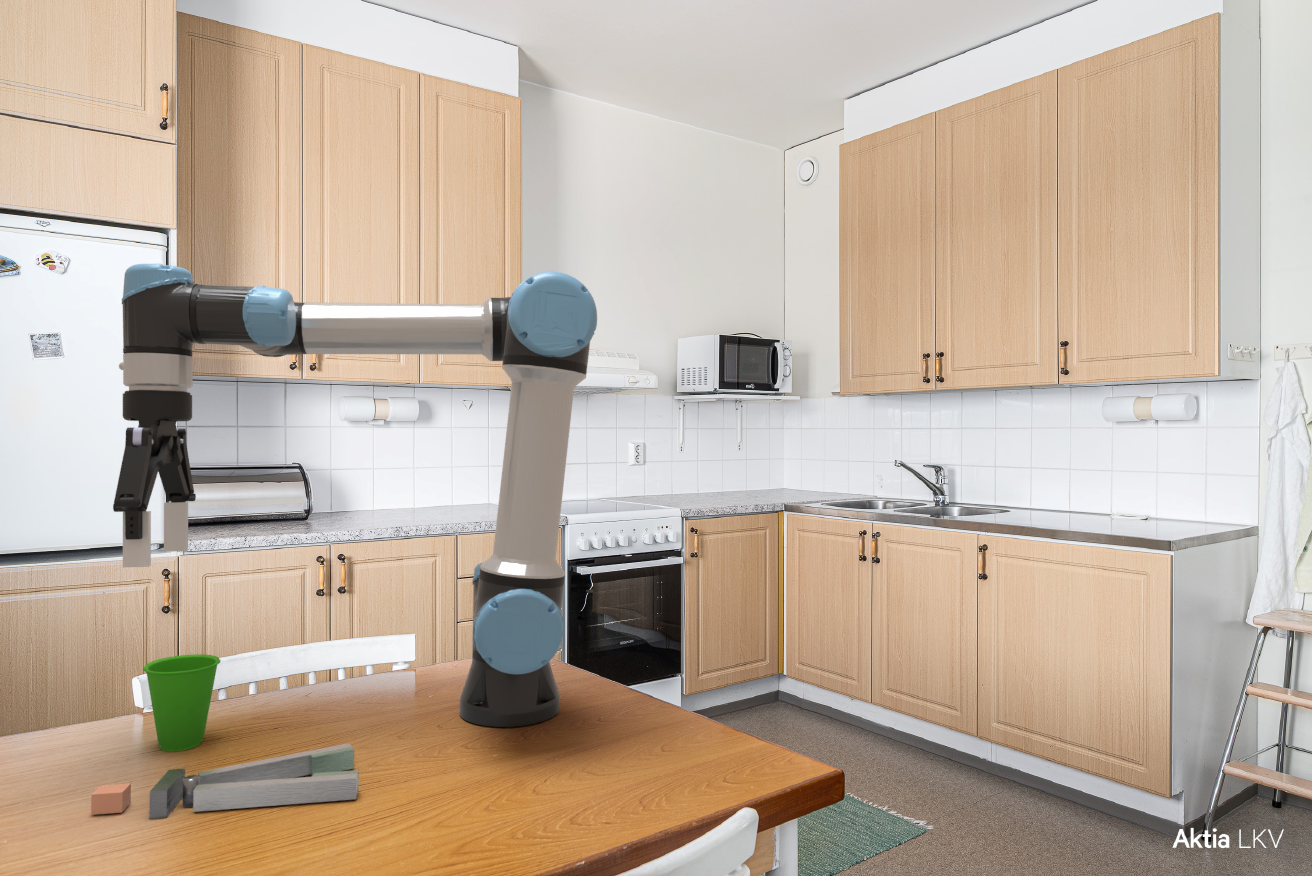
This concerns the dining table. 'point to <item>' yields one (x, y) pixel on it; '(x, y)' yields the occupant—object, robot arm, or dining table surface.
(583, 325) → the robot arm
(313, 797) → the tongs base
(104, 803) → the tab
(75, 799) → the dining table surface
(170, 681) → the cup
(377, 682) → the dining table surface
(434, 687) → the dining table surface
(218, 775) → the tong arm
